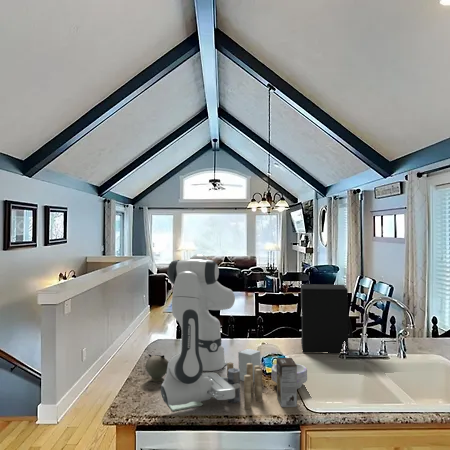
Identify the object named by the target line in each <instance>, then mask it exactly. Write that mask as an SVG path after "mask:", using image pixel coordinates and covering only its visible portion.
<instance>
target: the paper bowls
mask: <svg viewBox="0 0 450 450" xmlns="http://www.w3.org/2000/svg"><path fill="white" fill-rule="evenodd" d="M296 365H297V390H298V389H300V388H301V387H302V386H303V384H304V383H306V382H308V368H307V367H306V366H305V365H303V364H299V363H296ZM271 380H272V381H273V382H274V383H276V384H277V363H276V364H273V365H272V366H271Z"/></svg>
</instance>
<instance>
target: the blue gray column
mask: <svg viewBox="0 0 450 450" xmlns="http://www.w3.org/2000/svg"><path fill="white" fill-rule="evenodd" d="M237 382H238V383H239V384H240V385H241V380H240V369H239V368H236V367H233V368H232V369H228V383H229V384H232V385H233V384H234V383H237ZM227 401H228V403H232V404H237V403H240V401H241V387H240V388H237V389H235V397H234V398H233V399H227Z"/></svg>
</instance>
